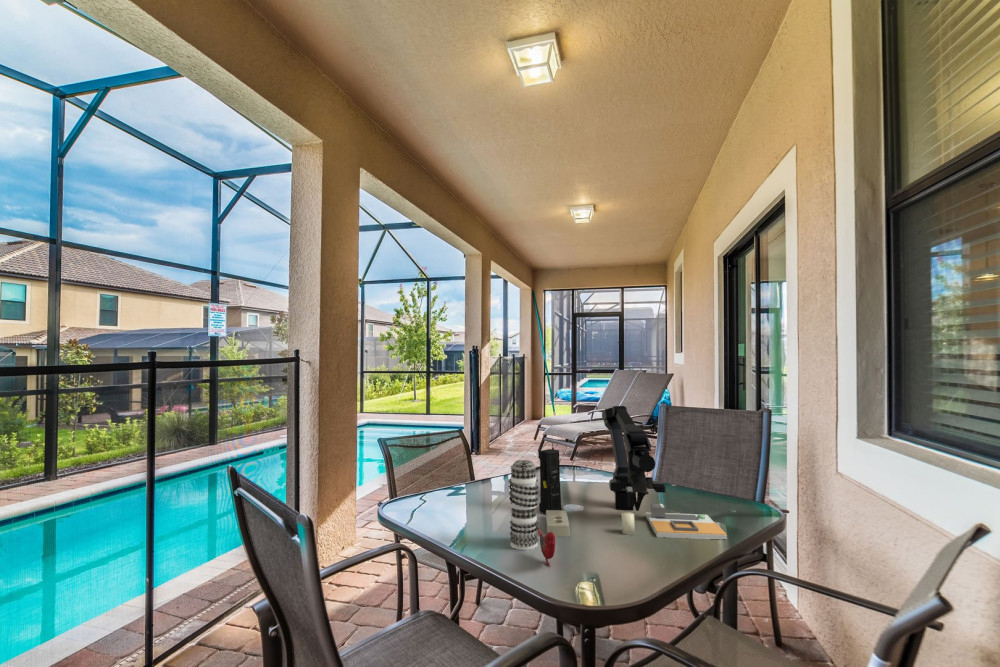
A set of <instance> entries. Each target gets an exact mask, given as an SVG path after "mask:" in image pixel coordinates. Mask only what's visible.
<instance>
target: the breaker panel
mask: <svg viewBox="0 0 1000 667" xmlns="http://www.w3.org/2000/svg"><path fill="white" fill-rule="evenodd" d="M645 518H646V519H647V522H648V521H649V522H648V524H649V525H650V527H651V529H652V530H653V533H654V534H655V535H656V538H663V537H666V538H665V539H667V538H669V539H686V538H688V539H689V538H690V539H691V540H692V539H693V540H710V539H727V540H728V535H727V533H726V532H725V530H723V529H722V528H721V527H720V526H719V525H718V524H717V523H716V522H715V521H714V520H713V519H712V518H711V517H710V516H709V515H708V514H702V513H697V514H695V513H675V512H674V513H671V512H670V513H667V512H665V517H653V516H652V514H651V512H645ZM688 539H687V540H688ZM690 539H689V540H690Z"/></svg>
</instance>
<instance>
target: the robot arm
mask: <svg viewBox="0 0 1000 667" xmlns="http://www.w3.org/2000/svg"><path fill="white" fill-rule="evenodd" d="M601 419H602V421H603V424H604V427H605V428H606V429H607V430H608V431H609V433H610V440H611V445H612V452H613V458H614V464H615V468H614V471H613V474H612V475H613V476H612V478H611V479H609V480H608V481H609V482H608V485H609V486H608V488H609V489H610V491H611V492H613V493H614V503H613V504H614V507H615V510H620V511H621V510H622V511H623V510H624V511H633V510H634V508H635V511H636V512H639V511H640V509H641V505H642V502H643V499H644V498H645V496H646V495H649V489H650V490H653V491H655V492H656V493H666V490H667V488H666V485H665V483H664V482H663V481H661V480H654V479H653V477H650V476H646V473H650V472H653V470H654V469H655V468H656V461H655V459H654V457H653V456H652V455H650V452H652V444H651V442H650V440H649V437H648V435H647V433H646V431H645V430H644V429H643V428H642V427H641V426H638V425H636V424H635V422H634V420H633V419H632V417H631V415H630V414H629V412H628V408H627V406H624V405H614V406H611V407H609V408H605V409H604V410H603V411H602V412H601ZM626 451H627V452H626Z"/></svg>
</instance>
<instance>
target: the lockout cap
mask: <svg viewBox="0 0 1000 667" xmlns="http://www.w3.org/2000/svg"><path fill="white" fill-rule="evenodd" d="M635 529H636V528H635V514H634V513H633V512H631V511H630V512H629V511H624V512H621V533H622V534H623V535H625V534H626V535H627V536H633V534H634V535H635Z"/></svg>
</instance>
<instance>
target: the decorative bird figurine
mask: <svg viewBox="0 0 1000 667" xmlns="http://www.w3.org/2000/svg"><path fill="white" fill-rule="evenodd" d="M537 532H538V536H539V545H540V550H541V553H542V555H543V557H544V558H545V559H544V560H545V562H546V565H547V566H549V567H551V565H550V562H549V560H551V559H552V558H554V555H555V551H556V537H555V536H554V534H553V533H552V532H549V533H547V532H546V534H543V533H542V531H541V530H540V528H539V527H538V529H537Z"/></svg>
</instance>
